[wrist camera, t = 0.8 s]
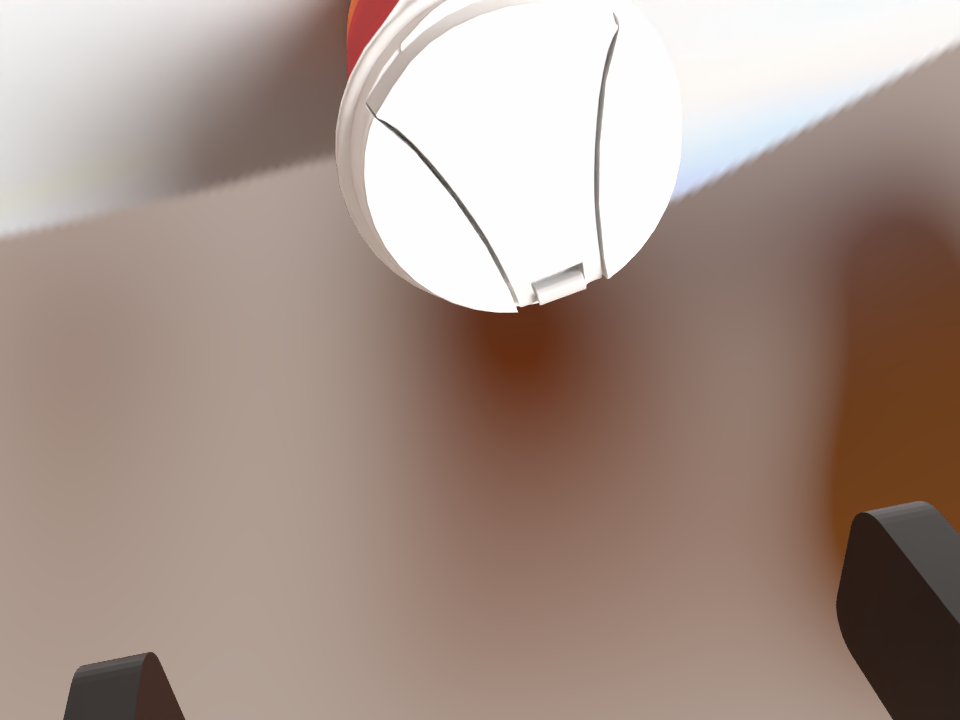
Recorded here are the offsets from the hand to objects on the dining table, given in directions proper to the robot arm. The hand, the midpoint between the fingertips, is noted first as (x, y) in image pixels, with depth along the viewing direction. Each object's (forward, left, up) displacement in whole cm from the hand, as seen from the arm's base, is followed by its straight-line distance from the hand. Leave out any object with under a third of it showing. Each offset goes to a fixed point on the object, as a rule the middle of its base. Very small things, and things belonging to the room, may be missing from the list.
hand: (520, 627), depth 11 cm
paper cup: (-1, +3, -25) cm, 25 cm away
